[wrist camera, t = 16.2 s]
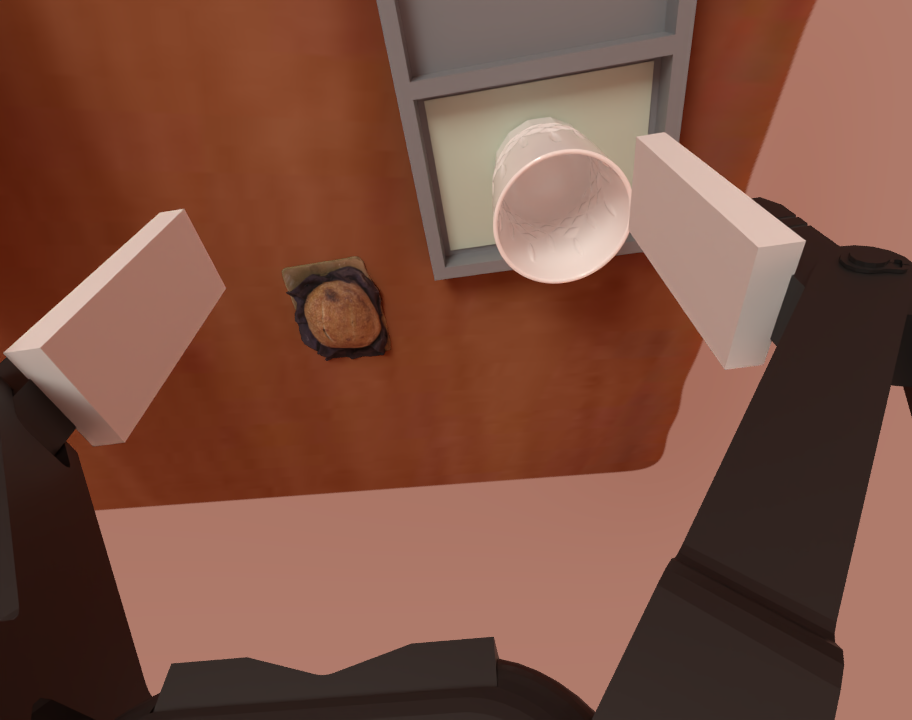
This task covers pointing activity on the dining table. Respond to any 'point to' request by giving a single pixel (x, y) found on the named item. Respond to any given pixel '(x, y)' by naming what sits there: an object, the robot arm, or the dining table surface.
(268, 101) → the dining table surface
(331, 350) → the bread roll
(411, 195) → the dining table surface
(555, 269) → the white cup
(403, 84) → the gray divided tray
